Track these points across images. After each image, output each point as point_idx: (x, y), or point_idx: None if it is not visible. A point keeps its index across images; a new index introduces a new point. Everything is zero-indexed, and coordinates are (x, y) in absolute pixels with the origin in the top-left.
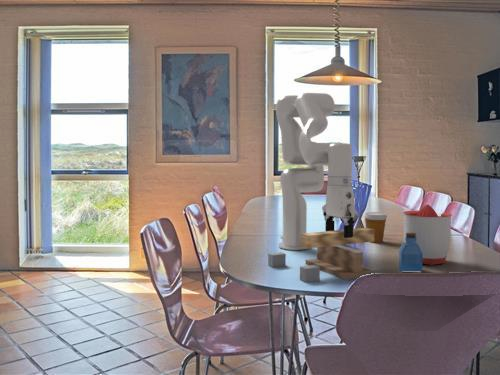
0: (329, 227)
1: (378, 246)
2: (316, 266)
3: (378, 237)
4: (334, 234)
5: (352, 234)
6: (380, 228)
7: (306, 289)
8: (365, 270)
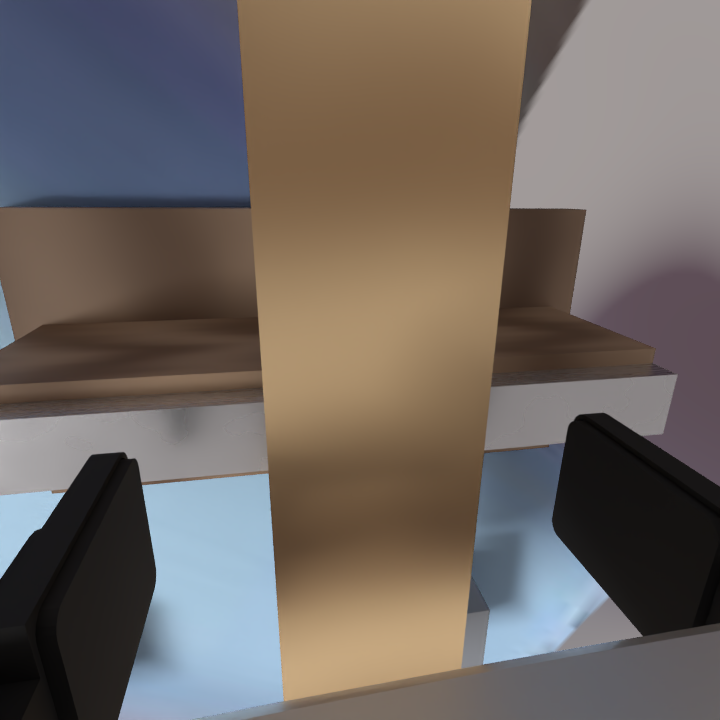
0: (128, 611)
1: None
2: (472, 622)
3: None
4: (456, 620)
5: (622, 435)
6: None
7: (538, 648)
8: (540, 265)
